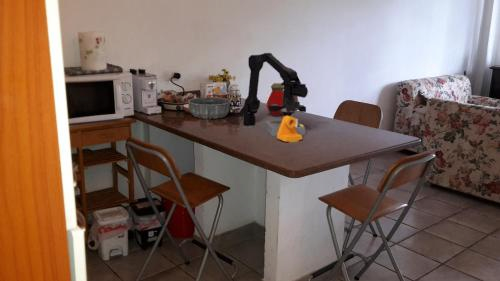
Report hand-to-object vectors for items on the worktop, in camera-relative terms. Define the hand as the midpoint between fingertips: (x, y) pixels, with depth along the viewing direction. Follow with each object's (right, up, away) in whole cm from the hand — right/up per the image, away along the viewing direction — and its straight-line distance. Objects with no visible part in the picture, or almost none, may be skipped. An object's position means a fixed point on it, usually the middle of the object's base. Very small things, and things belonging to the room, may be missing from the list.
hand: (286, 124), depth 243 cm
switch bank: (-1, -4, +6) cm, 7 cm away
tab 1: (+1, 0, +11) cm, 11 cm away
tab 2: (+4, -3, +2) cm, 5 cm away
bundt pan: (-44, +6, +40) cm, 60 cm away
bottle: (-2, +7, +49) cm, 50 cm away
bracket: (+1, -9, -12) cm, 15 cm away
